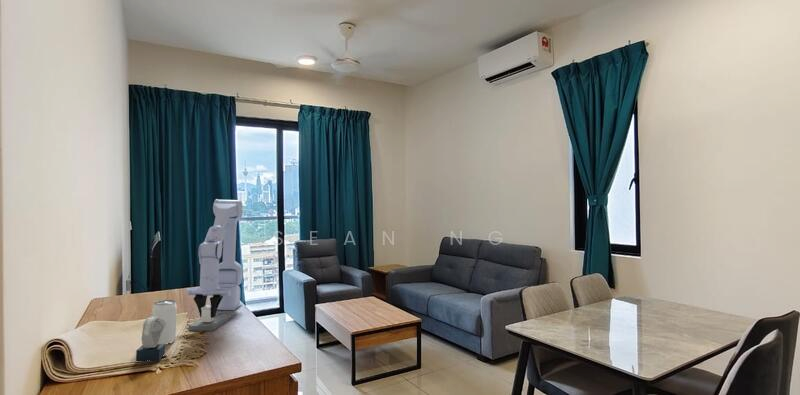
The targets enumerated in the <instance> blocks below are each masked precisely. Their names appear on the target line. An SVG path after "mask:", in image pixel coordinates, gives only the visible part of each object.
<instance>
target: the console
mask: <svg viewBox="0 0 800 395" xmlns="http://www.w3.org/2000/svg"><path fill="white" fill-rule="evenodd" d="M234 317H235V312H233V311H217V312H216V316H215V317H214V320H213V321H211V322H201V318H200V319H198V320H197V321H194V322H192V323H191V324H189V325H188V331H201V332H202V331H204V332H211V331H212V332H214V331H215V330H217V329H218V328H219V327H221V326H223V325H224V324H225V323H226V322H228V321H230V320H231V319H232V318H234Z"/></svg>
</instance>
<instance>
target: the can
mask: <svg viewBox="0 0 800 395" xmlns="http://www.w3.org/2000/svg"><path fill="white" fill-rule="evenodd" d="M177 307H178V306H177V303H176V301H175V300H173V299H165V300H157V301H154V303H153V306H152V309H151V317H160V318H162V319H164V320H165V322H166V325H165V327H164V329H163V332H162V334H161V336H160V339H159V342H158V344H166V343H170V342H172V341H174V340H175V341H176V335H177V334H176V333H177V332H176V331H177V312H178V311H177V310H178V308H177ZM175 341H174V342H175ZM170 344H171V343H170Z"/></svg>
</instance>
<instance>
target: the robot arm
mask: <svg viewBox="0 0 800 395" xmlns="http://www.w3.org/2000/svg"><path fill="white" fill-rule="evenodd" d="M243 208H244V206H243V203H242V201H241V199H238V200H237V199H219V198H216V199H215V200H214V202H213V206H212V210H213V211H212V212H213V215H214V216H215V218H214V222H213V226H210V227H209V229H208V231H207V233H206V236H205V239H204V241H203V242H201V243H200V244H199V246H198V252H197V253H198V258H199V259H198V260H199V261H198V263H199V265H200V271H199V288H188V289H186V290H185V291H186V292H185V296H189V297H190V296H195V297H193V301H194V303H195V304H196V306H197V309H198V313H199V318H201V315H202V310H201V307H203V306H205V305H207V299H208V296H211V297H210V298H209V301H210V305H211V318H213V317H215V316H216V312H218V311H219V310H220V311H234V310H236V309H238V308H240V307H241V306H242V305H243V303H241V287H240V285H241V284H242V282H243V276H244V274H243V266H242V265H241V263H239V262H238V261H236V247H237V246H236V245H237V243H236V242H237V225H238V221H241V220H242V218H243ZM221 257H222V262H220V259H221ZM241 304H242V305H241Z"/></svg>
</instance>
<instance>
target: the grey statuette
mask: <svg viewBox="0 0 800 395" xmlns="http://www.w3.org/2000/svg"><path fill="white" fill-rule="evenodd" d="M165 325H166V322H165V320H164V319H162V318H160V317H152V316H150V317H147V318H146V319H145V320H144V323H143V325H142V332H141V343H142V345H141V346H140V347H138V348H137V349H136V352H135V362H136V361H147V360H148V361H149V360H150V361H152V362H160V361H161V360H162V359H163V358H162V356H163V355H164V354H165V355H166V353H165V352H166V351H165V350H166V345H165V344H158V342H159V339H160V336H161V334H162V332H163V329H164V327H165ZM165 355H164V356H165ZM164 356H163V357H164ZM161 358H162V359H161Z"/></svg>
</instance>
